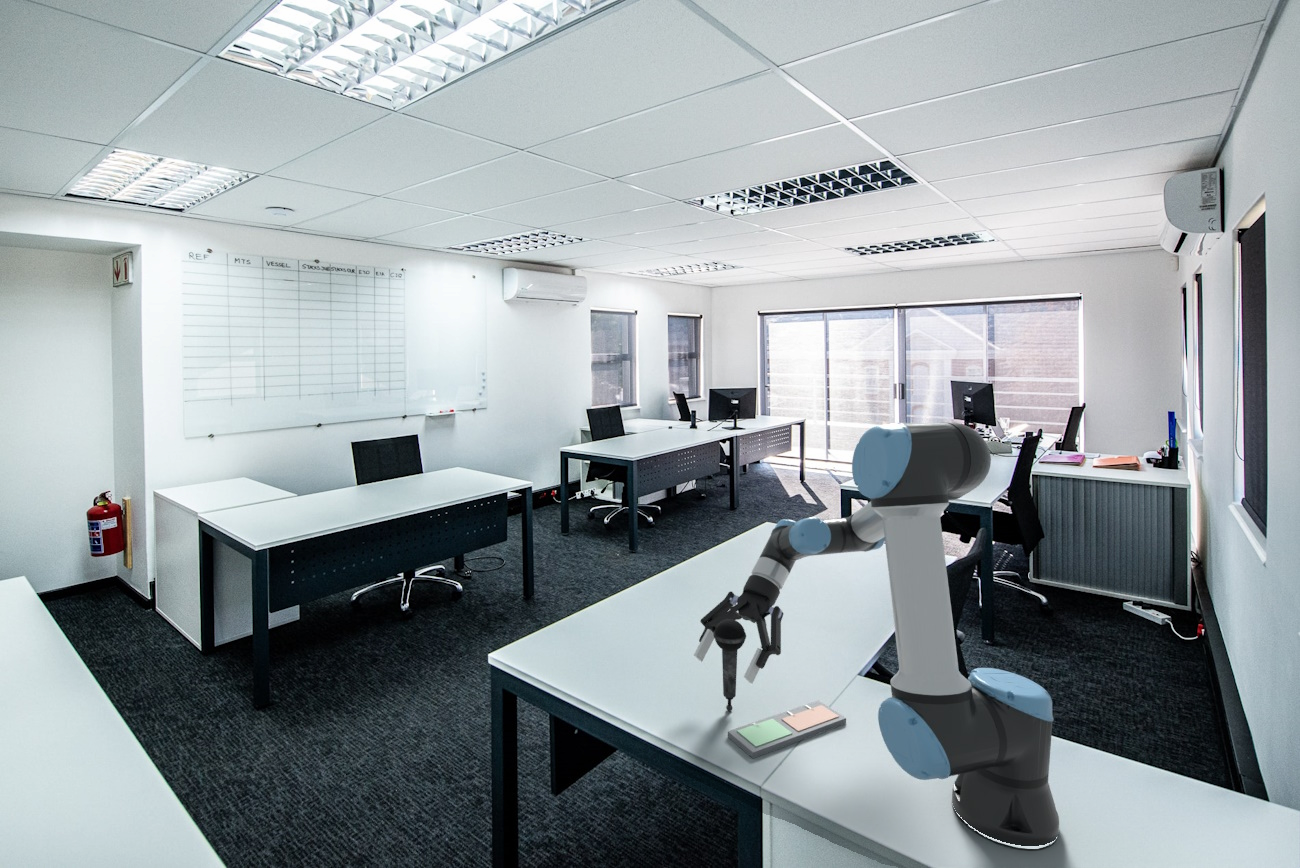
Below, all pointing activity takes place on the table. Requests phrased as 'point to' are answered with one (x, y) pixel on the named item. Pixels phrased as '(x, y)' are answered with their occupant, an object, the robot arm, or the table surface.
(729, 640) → the microphone
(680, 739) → the table surface
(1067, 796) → the table surface
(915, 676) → the robot arm
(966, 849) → the table surface
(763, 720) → the board
